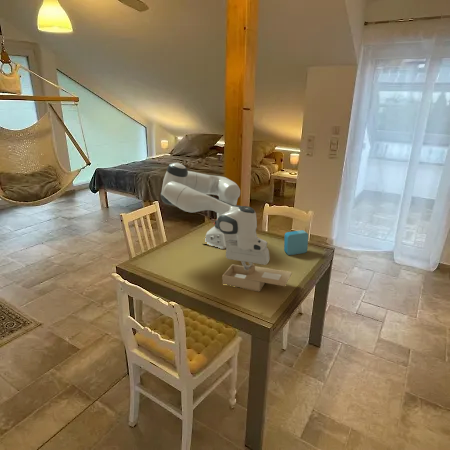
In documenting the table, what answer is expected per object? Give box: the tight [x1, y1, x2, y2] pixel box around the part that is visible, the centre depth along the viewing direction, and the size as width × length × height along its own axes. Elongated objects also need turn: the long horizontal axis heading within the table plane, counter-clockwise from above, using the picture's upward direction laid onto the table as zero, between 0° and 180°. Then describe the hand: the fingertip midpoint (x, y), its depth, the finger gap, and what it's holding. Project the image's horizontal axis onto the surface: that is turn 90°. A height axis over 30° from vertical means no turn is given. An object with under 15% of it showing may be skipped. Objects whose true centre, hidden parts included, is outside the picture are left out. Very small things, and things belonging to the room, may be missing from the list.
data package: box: [283, 229, 309, 256], centre depth 192 cm, size 12×4×12 cm, turn 105°
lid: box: [245, 263, 293, 287], centre depth 158 cm, size 18×13×4 cm
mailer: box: [221, 263, 266, 293], centre depth 164 cm, size 18×12×5 cm, turn 67°
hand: (247, 269), depth 162 cm, fingers closed
